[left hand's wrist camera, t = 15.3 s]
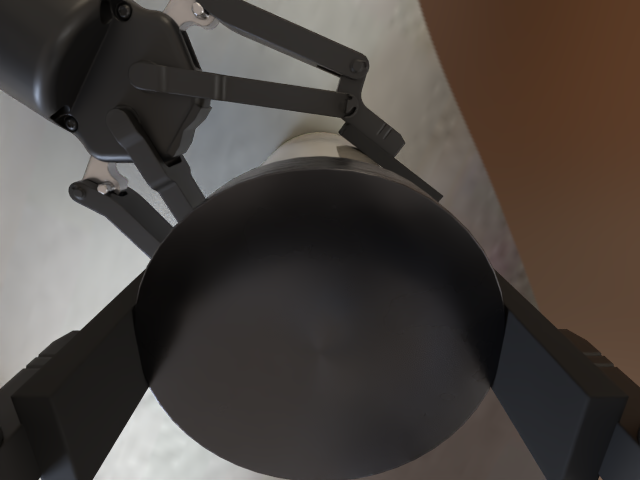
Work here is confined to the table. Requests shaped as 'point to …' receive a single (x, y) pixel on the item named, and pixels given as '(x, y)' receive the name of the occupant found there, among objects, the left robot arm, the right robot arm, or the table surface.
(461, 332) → the lid
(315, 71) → the table surface
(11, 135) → the table surface
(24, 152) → the table surface
